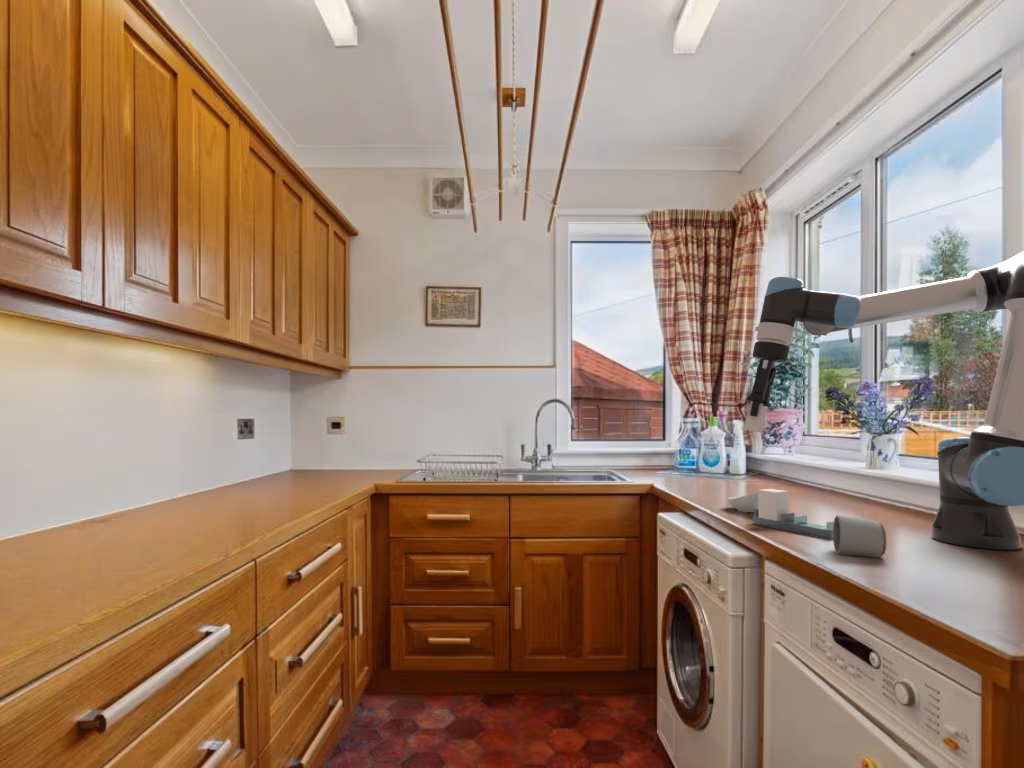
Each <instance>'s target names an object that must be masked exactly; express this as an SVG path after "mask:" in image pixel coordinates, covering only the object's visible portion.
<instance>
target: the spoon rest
mask: <svg viewBox="0 0 1024 768" xmlns="http://www.w3.org/2000/svg"><path fill="white" fill-rule="evenodd" d="M726 499H727V503H728V504H730V506H731V507H733V508H734V509H736V510H737V511H738V510H739V511H738V512H741V511H743V512H742V513H747V512H754V511H753V509H758V492H755V493H749V494H746V495H743V496H738V497H736V496H734V497H727V498H726Z"/></svg>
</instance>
